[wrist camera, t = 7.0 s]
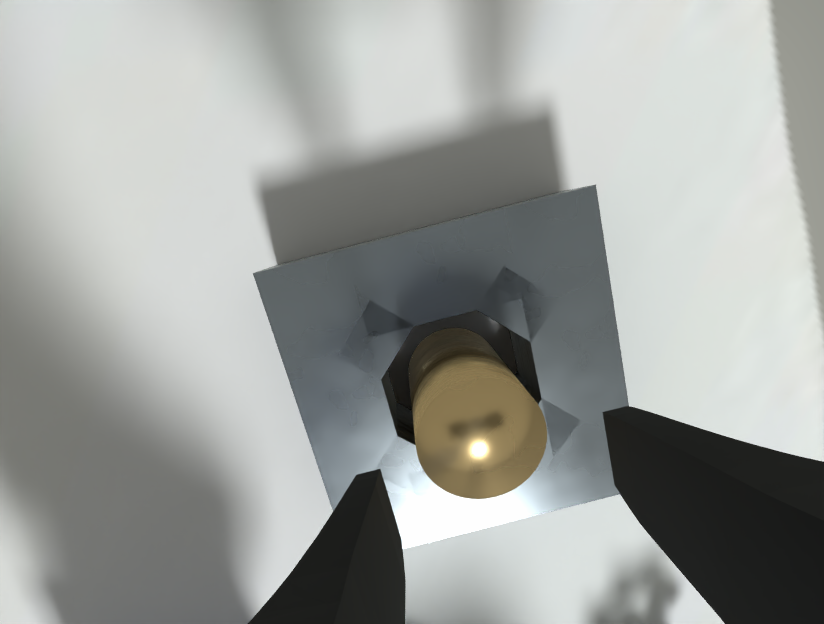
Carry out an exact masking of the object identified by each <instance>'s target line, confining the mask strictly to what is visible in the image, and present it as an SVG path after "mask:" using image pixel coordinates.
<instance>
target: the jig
mask: <svg viewBox="0 0 824 624" xmlns="http://www.w3.org/2000/svg"><path fill="white" fill-rule="evenodd" d="M253 275H254V278H255V281H256V284H257V287H258V290H259V293H260V296H261V299H262V302H263V305H264V308H265V311H266V313H267V316H268V319H269V322H270V325H271V328H272V331H273V334H274V337H275V340H276V343H277V346H278V349H279V352H280V355H281V358H282V361H283V364H284V367H285V370H286V373H287V376H288V379H289V382H290V385H291V388H292V391H293V393H294V396H295V399H296V402H297V405H298V408H299V411H300V414H301V417H302V420H303V423H304V426H305V429H306V432H307V435H308V438H309V441H310V444H311V447H312V450H313V453H314V456H315V459H316V462H317V465H318V468H319V471H320V474H321V476H322V479H323V482H324V485H325V488H326V491H327V494H328V497H329V500H330V503H331V506H332V509H333V511H334V510H335V508H336V506H337V505H338V503H339V501H340V500H341V498H342V497H343V495H344V493H345V492H346V490H347V489H348V487H349V485H350V484H351V482H352V481H353V479H354V478H355V476H356V475H357V474H361V473H365V472H369V471H373V470H377V469H381V472H382V476H383V479H384V482H385V486H386V489H387V492H388V496H389V499H390V502H391V506H392V509H393V512H394V516H395V519H396V522H397V526H398V529H399V532H400V536H401V539H402V549H405V548H409V547H413V546H417V545H421V544H425V543H429V542H433V541H436V540H440V539H444V538H448V537H452V536H456V535H460V534H464V533H468V532H472V531H476V530H480V529H484V528H488V527H492V526H496V525H500V524H504V523H508V522H512V521H516V520H520V519H523V518H527V517H531V516H535V515H539V514H543V513H547V512H551V511H555V510H559V509H563V508H567V507H571V506H575V505H579V504H583V503H587V502H591V501H595V500H599V499H603V498H607V497H611V496H614V495H618V494H620V493H619V491H618V490H617V488H616V487H615V485H614V479H613V473H612V467H611V461H610V455H609V449H608V443H607V437H606V431H605V425H604V419H603V413H602V412H605V411H609V410H613V409H617V408H621V407H625V406H629V404H628V397H627V390H626V384H625V377H624V370H623V364H622V357H621V350H620V344H619V337H618V330H617V324H616V317H615V310H614V304H613V297H612V290H611V284H610V277H609V270H608V264H607V257H606V250H605V244H604V237H603V230H602V224H601V217H600V210H599V204H598V197H597V190H596V185H592V186H587V187H582V188H577V189H572V190H567V191H562V192H558V193H554V194H550V195H546V196H542V197H538V198H534V199H531V200H527V201H523V202H519V203H515V204H511V205H507V206H503V207H500V208H496V209H492V210H488V211H484V212H480V213H476V214H473V215H469V216H465V217H461V218H457V219H453V220H449V221H446V222H442V223H438V224H434V225H430V226H426V227H422V228H418V229H415V230H411V231H407V232H403V233H399V234H395V235H391V236H388V237H384V238H380V239H376V240H372V241H368V242H364V243H361V244H357V245H353V246H349V247H345V248H341V249H337V250H333V251H330V252H326V253H322V254H318V255H314V256H310V257H306V258H303V259H299V260H295V261H291V262H287V263H283V264H279V265H276V266H273V267H270V268H267V269H264V270H261V271H258V272H256V273H253ZM475 310H478V311H479V312H481V313H483V314H484V315H486V316H488V317H490V318H491V319H493V320H495V321H496V322H498V323H500V324H501V325H503V326H505V327H506V328H508V329H509V331H510V335H511V340H512V345H513V350H514V355H515V359H516V364H517V369H518V372H517V374H516V375H515V376H516V378H517V379H518V380H519V381H520V383H521V384H522V385H523V386H524V388H525V389H526V390H527V391H528V392H529V394H530V395H531V396H532V397H533V399H534V400H535V401H536V402H537V404H538V405H539V407H540V409H541V410H542V413H543V415H544V418H545V422H546V426H547V443H546V449H545V452H544V455H543V457H542V460H541V462H540V464H539V465H538V467H537V468H536V470H535V471H534V472H533V474H532V475H531V476H530V477H529V478H528V479H527V480H526V481H525V482H524V483H522V484H521V485H520V486H518V487H517V488H515V489H514V490H512V491H510V492H508V493H505V494H503V495H500V496H497V497H493V498H487V499H468V498H462V497H459V496H455V495H453V494H450V493H448V492H446V491H444V490H443V489H441V488H440V487H438V486H437V485H436V484H435V483H433V482H432V481H431V479H430V478H429V477H428V476H427V475H426V473H425V472H424V470H423V468H422V466H421V464H420V462H419V459H418V456H417V451H416V443H415V434H414V424H413V415H412V411H411V410H410V409H408V408H406V407H404V406H402V405H400V404H398V403H396V399H395V395H394V392H393V388H392V385H391V381H390V378H389V374H388V371H387V369H388V368H389V366H390V364H391V363H392V361H393V359H394V358H395V356H396V355H397V353H398V351H399V350H400V348H401V346H402V345H403V343H404V341H405V340H406V338H407V336H408V335H409V333H410V332H411V330H412V328H413V327H414V326H417V325H421V324H425V323H428V322H432V321H436V320H440V319H444V318H448V317H452V316H456V315H460V314H463V313H467V312H471V311H475Z"/></svg>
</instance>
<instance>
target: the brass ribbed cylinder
mask: <svg viewBox="0 0 824 624" xmlns="http://www.w3.org/2000/svg"><path fill="white" fill-rule="evenodd" d="M408 375H409V386H410V395H411V405H412V415H413V424H414V434H415V443H416V451H417V456H418V459H419V462H420V464H421V466H422V468H423V470H424V472H425V473H426V475H427V476H428V477H429V478H430V479H431V481H432V482H433V483H435V484H436V485H437V486H438V487H440V488H441V489H443V490H444V491H446V492H448V493H450V494H453V495H455V496H459V497H462V498H468V499H487V498H493V497H497V496H500V495H503V494H505V493H508V492H510V491H512V490H514V489H515V488H517V487H518V486H520V485H521V484H522V483H524V482H525V481H526V480H527V479H528V478H529V477H530V476H531V475H532V474H533V472H534V471H535V470H536V468H537V467H538V465H539V464H540V462H541V460H542V457H543V455H544V452H545V449H546V443H547V426H546V422H545V418H544V415H543V413H542V410H541V409H540V407H539V405H538V404H537V402H536V401H535V400H534V399H533V397H532V396H531V395H530V394H529V392H528V391H527V390H526V389H525V388H524V386H523V385H522V384H521V383H520V381H519V380H518V379H517V378H516V376H515V375H514V374H513V373H512V372H511V370H510V369H509V368H508V367H507V365H506V364H505V363H504V362H503V360H502V359H501V358H500V357H499V356H498V354H497V353H496V352H495V351H494V349H493V348H492V347H491V346H490V345H489V343H488V342H487V341H486V340H485V339H484V338H483V337H481V336H480V335H478V334H477V333H475V332H473V331H470V330H467V329H462V328H448V329H443V330H440V331H437V332H435V333H433V334H431V335H429V336H428V337H426V338H425V339H424V340H423V341H422V342H421V343H420V344H419V345H418V346H417V348H416V349H415V351H414V352H413V354H412V357H411V359H410V363H409V370H408Z"/></svg>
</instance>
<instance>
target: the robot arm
mask: <svg viewBox="0 0 824 624" xmlns="http://www.w3.org/2000/svg"><path fill="white" fill-rule="evenodd" d="M602 413H603V419H604V425H605V431H606V437H607V443H608V449H609V455H610V461H611V467H612V473H613V479H614V485H615V487H616V488H617V490H618V491H619V493H620V494H621V496H622V497H623V499H624V501H625V502H626V504H627V505H628V507H629V508H630V510H631V511H632V512H633V514H634V515H635V517H636V518H637V520H638V521H639V523H640V524H641V525H642V526H643V528H644V529H645V530H646V531H647V532H648V534H649V535H650V536H651V537H652V538H653V540H654V541H655V542H656V543H657V544H658V545H659V547H660V548H661V549H662V550H663V551H664V553H665V554H666V555H667V556H668V557H669V558H670V560H671V561H672V562H673V563H674V564H675V565H676V567H677V568H678V569H679V570H680V571H681V572H682V574H683V575H684V576H685V577H686V578H687V579H688V581H689V582H690V583H691V584H692V585H693V586H694V588H695V589H696V590H697V591H698V592H699V593H700V595H701V596H702V597H703V598H704V599H705V600H706V602H707V603H708V604H709V605H710V606H711V607H712V609H713V610H714V611H715V612H716V613H717V614H718V616H719V617H720V618H721V619H722V621H723V622H724V623H725V624H824V462H822V461H817V460H813V459H808V458H804V457H799V456H795V455H791V454H787V453H783V452H779V451H775V450H772V449H768V448H764V447H761V446H757V445H753V444H750V443H746V442H743V441H739V440H736V439H732V438H729V437H726V436H722V435H719V434H716V433H713V432H710V431H706V430H703V429H700V428H697V427H694V426H691V425H688V424H685V423H682V422H679V421H675V420H672V419H669V418H666V417H663V416H660V415H657V414H654V413H651V412H648V411H644V410H641V409H637V408H634V407H629V406H625V407H621V408H617V409H613V410H609V411H605V412H602ZM248 624H405V571H404V559H403V549H402V539H401V536H400V532H399V529H398V526H397V522H396V519H395V516H394V512H393V509H392V506H391V502H390V499H389V496H388V492H387V489H386V486H385V482H384V479H383V476H382V472H381V469H377V470H373V471H369V472H365V473H361V474H357V475H356V476H355V478H354V479H353V481H352V482H351V484H350V485H349V487H348V489H347V490H346V492H345V493H344V495H343V497H342V498H341V500H340V501H339V503H338V505H337V506H336V508H335V510H334V511H333V513H332V514H331V516H330V517H329V519H328V521H327V522H326V524H325V525H324V527H323V528H322V530H321V531H320V533H319V534H318V536H317V537H316V539H315V540H314V542H313V543H312V544H311V546H310V547H309V548H308V550H307V551H306V553H305V554H304V555H303V557H302V558H301V560H300V561H299V562H298V564H297V565H296V567H295V568H294V569H293V571H292V572H291V573H290V575H289V576H288V577H287V578H286V580H285V581H284V582H283V583H282V585H281V586H280V587H279V588H278V590H277V591H276V592H275V593H274V594H273V595H272V597H271V598H270V599H269V600H268V601H267V602H266V604H265V605H264V606H263V607H262V608H261V609H260V611H259V612H258V613H257V614H256V615H255V616H254V617H253V619H252V620H251V621H250V622H249V623H248Z"/></svg>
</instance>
